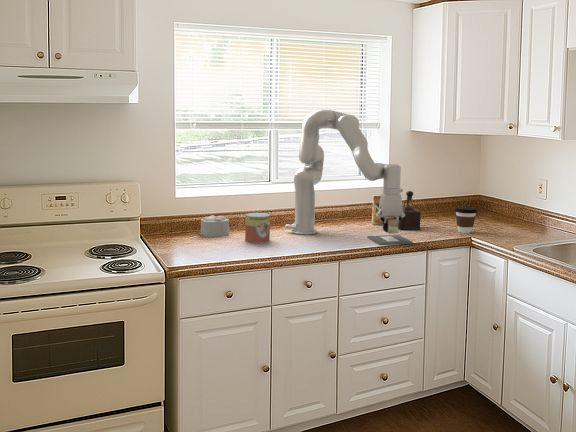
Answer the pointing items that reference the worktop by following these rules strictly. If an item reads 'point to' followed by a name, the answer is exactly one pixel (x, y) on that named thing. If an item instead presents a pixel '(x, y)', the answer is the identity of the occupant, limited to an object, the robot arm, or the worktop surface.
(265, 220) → the canned food
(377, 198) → the candy box
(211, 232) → the lumpy-topped squat cylinder
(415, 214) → the dark brown knob-topped block
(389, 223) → the beige textured block
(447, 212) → the worktop surface
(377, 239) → the mat
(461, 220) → the coffee cup
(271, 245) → the worktop surface
